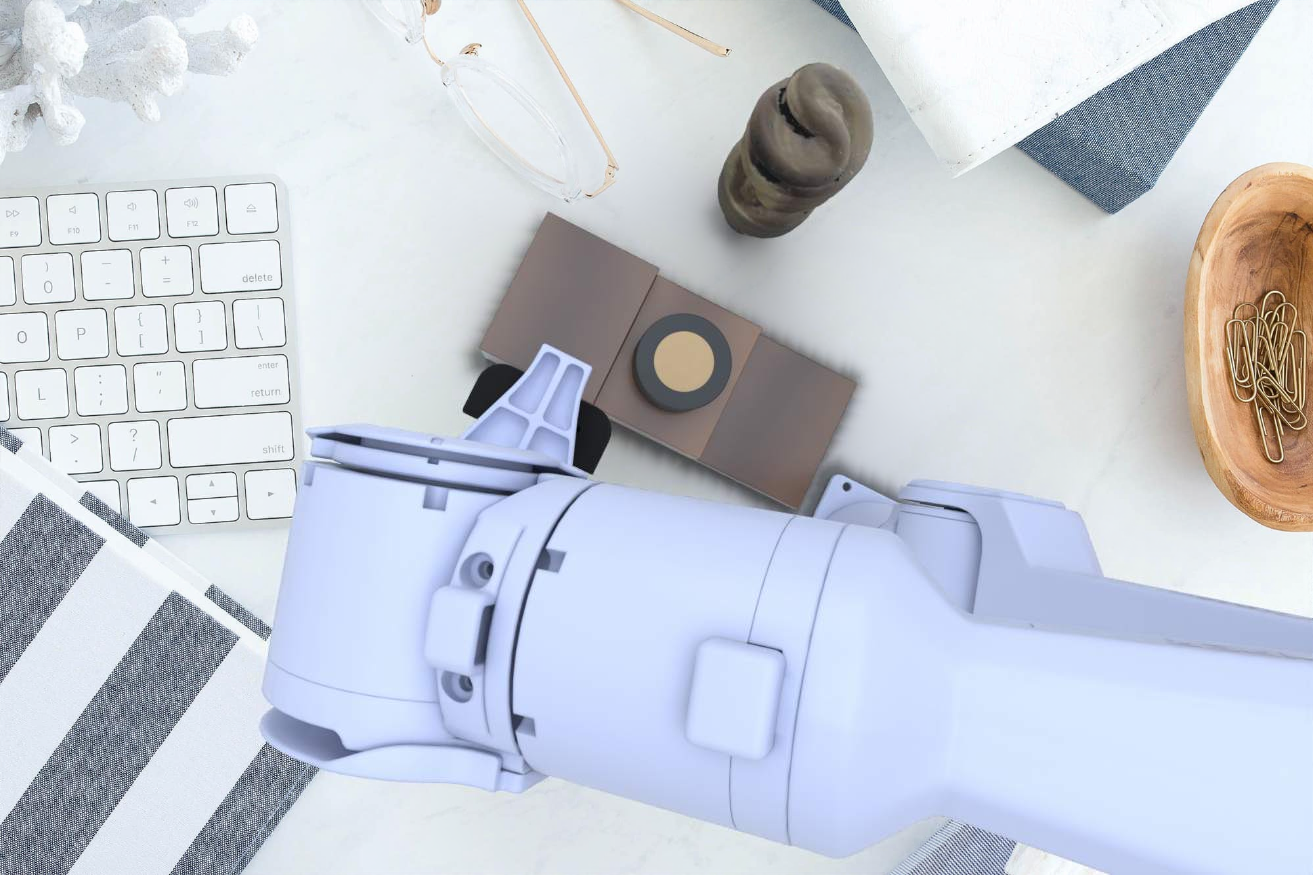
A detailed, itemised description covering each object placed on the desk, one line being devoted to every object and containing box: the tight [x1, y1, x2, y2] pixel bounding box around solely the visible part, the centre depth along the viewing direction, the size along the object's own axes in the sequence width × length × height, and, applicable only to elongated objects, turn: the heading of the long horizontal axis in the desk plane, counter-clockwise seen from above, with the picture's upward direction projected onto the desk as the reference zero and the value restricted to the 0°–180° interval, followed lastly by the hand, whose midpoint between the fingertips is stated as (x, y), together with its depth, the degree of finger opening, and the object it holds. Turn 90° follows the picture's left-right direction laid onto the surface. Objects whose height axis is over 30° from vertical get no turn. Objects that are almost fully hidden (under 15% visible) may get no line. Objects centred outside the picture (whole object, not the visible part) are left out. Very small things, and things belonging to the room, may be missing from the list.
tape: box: [632, 313, 732, 413], centre depth 48 cm, size 5×5×2 cm
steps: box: [478, 211, 858, 510], centre depth 50 cm, size 20×8×4 cm, turn 64°
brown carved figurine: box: [717, 61, 875, 240], centre depth 46 cm, size 6×6×15 cm
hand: (495, 518), depth 42 cm, fingers open, 7 cm apart
